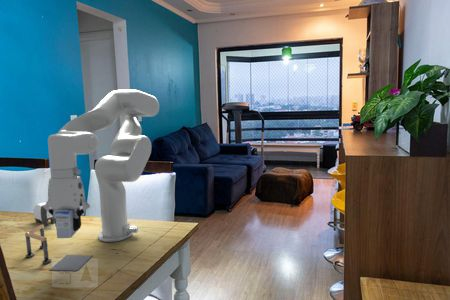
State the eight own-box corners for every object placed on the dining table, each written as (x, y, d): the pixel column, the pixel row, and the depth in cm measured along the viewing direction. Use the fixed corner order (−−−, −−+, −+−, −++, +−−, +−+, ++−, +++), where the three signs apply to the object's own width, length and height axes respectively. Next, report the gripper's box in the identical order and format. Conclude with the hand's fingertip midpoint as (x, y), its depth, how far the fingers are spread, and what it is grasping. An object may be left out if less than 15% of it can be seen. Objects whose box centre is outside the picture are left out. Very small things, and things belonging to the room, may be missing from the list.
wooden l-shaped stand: (69, 246, 121) (68, 223, 120) (48, 264, 108) (45, 238, 106) (41, 246, 122) (38, 223, 120) (15, 263, 109) (13, 238, 107)
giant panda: (33, 222, 146) (30, 201, 144) (45, 219, 150) (43, 198, 149) (52, 229, 138) (50, 207, 137) (64, 225, 143) (62, 203, 141)
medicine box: (66, 229, 111) (64, 204, 109) (80, 228, 111) (78, 203, 110) (56, 238, 103) (54, 211, 102) (71, 238, 103) (69, 211, 102)
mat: (92, 256, 113) (92, 255, 113) (77, 271, 103) (77, 270, 103) (66, 255, 114) (66, 254, 114) (49, 270, 104) (49, 269, 104)
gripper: (96, 171, 107) (99, 225, 110) (45, 170, 108) (50, 224, 111) (84, 176, 100) (88, 234, 102) (30, 175, 101) (35, 233, 104)
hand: (68, 228), depth 107 cm, fingers closed on medicine box, 4 cm apart
